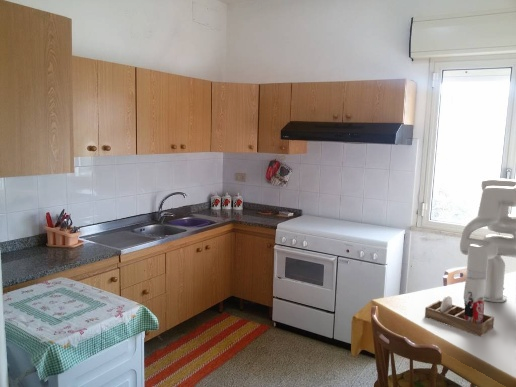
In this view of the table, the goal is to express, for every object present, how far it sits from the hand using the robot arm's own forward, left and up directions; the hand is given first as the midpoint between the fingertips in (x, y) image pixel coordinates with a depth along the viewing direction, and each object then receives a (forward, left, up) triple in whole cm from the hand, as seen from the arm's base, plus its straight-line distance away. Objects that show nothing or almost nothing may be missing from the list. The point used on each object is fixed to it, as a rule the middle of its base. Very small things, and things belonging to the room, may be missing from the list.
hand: (473, 312), depth 182 cm
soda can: (0, 0, -6) cm, 6 cm away
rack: (0, -6, -6) cm, 9 cm away
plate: (0, -12, -6) cm, 13 cm away
